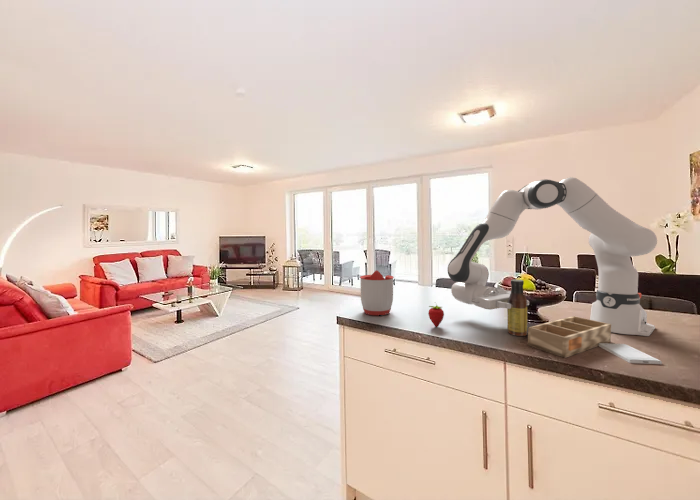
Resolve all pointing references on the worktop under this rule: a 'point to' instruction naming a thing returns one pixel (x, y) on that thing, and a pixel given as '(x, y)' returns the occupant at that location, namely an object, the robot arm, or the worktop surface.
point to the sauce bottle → (517, 309)
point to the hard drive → (629, 353)
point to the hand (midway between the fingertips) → (519, 304)
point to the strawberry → (436, 315)
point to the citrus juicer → (376, 293)
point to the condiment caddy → (569, 335)
